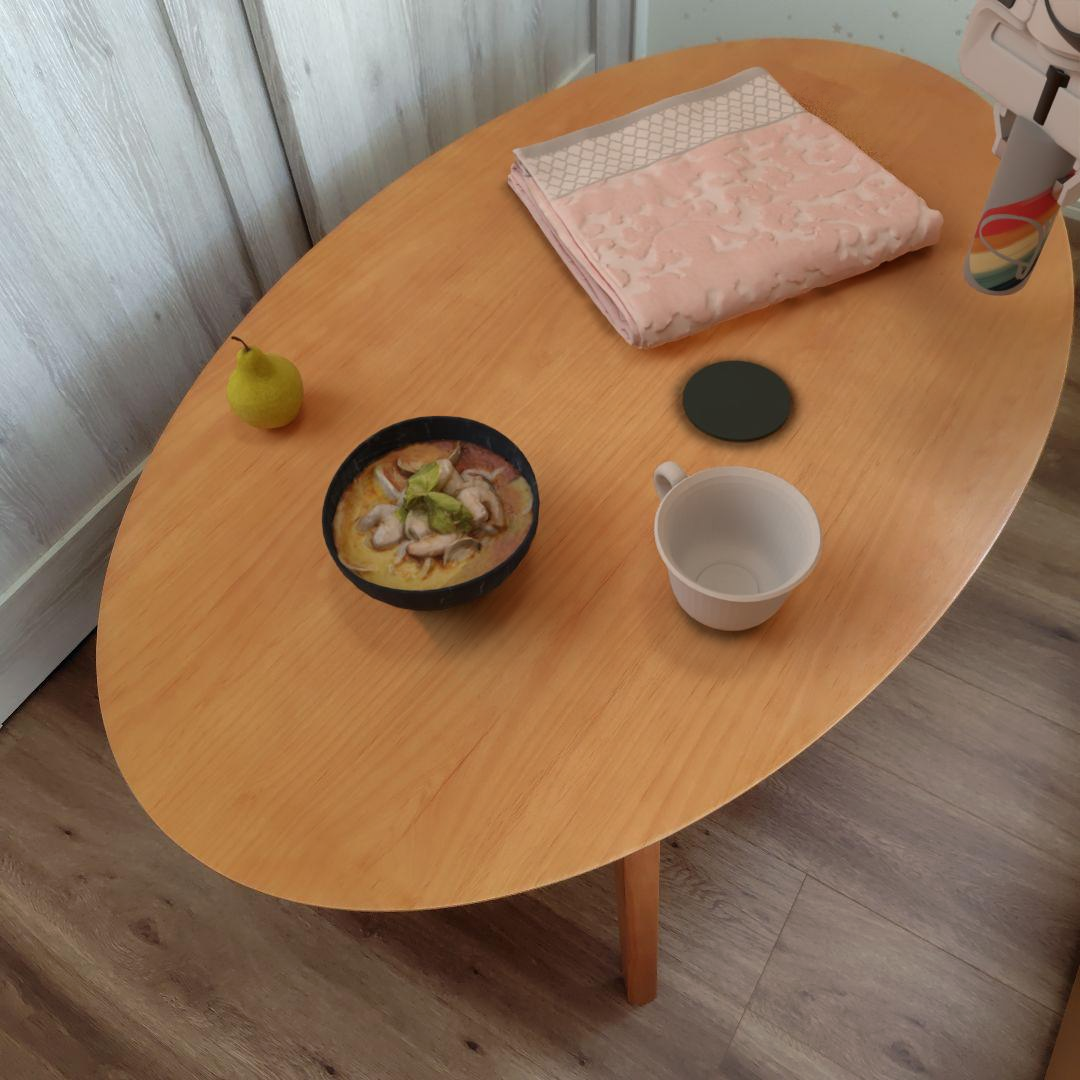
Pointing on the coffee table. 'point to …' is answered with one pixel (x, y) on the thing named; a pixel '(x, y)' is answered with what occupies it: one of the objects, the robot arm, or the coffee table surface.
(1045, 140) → the lotion bottle
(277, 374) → the fruit
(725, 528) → the teacup
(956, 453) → the coffee table surface
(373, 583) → the bowl
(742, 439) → the coaster
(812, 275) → the towel
